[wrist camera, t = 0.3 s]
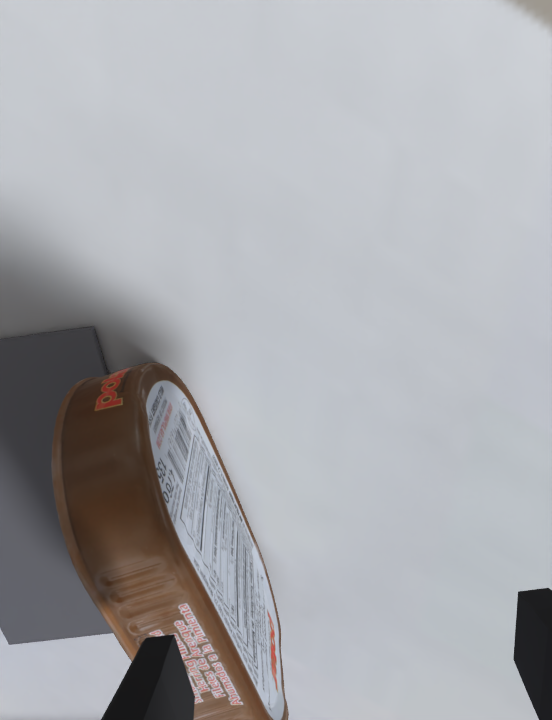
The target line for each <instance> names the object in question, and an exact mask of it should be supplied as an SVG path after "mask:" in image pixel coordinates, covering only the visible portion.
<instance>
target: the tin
mask: <svg viewBox="0 0 552 720" xmlns="http://www.w3.org/2000/svg"><path fill="white" fill-rule="evenodd" d="M51 467H52V481H53V488H54V497H55V502H56V509H57V513H58V518H59V523H60V526H61V530H62V534H63V537H64V540H65V544H66V547H67V551H68V553H69V555H70V558H71V561H72V564H73V566H74V568H75V570H76V572H77V574H78V577H79V579H80V580H81V582H82V584H83V586H84V588H85V590H86V591H87V593H88V594H89V596H90V598H91V599H92V601H93V603H94V604H95V606H96V607H97V608H98V610H99V612H100V613H101V615H102V616H103V618H104V619H105V621H106V622H107V624H108V626H109V627H110V629H111V630H112V632H113V633H114V635H115V637H116V638H117V640H118V641H119V643H120V645H121V646H122V648H123V649H124V651H125V652H126V654H127V655H128V657H129V658H130V659H131V661H133V659H134V657H135V655H136V653H137V652H138V650H139V648H140V646H141V644H142V642H143V641H144V640H145V639H146V638H148V637H156V636H164V635H172V634H174V635H175V638H176V641H177V644H178V647H179V650H180V653H181V656H182V659H183V662H184V665H185V668H186V671H187V674H188V677H189V680H190V683H191V686H192V689H193V692H194V695H195V705H194V720H288V715H289V714H288V707H287V702H286V699H285V693H284V680H283V668H282V659H281V628H280V622H279V617H278V612H277V607H276V603H275V599H274V595H273V591H272V588H271V584H270V580H269V577H268V574H267V570H266V567H265V564H264V561H263V558H262V555H261V553H260V550H259V547H258V545H257V542H256V540H255V538H254V535H253V533H252V531H251V528H250V526H249V523H248V521H247V518H246V516H245V514H244V511H243V509H242V506H241V504H240V501H239V499H238V497H237V494H236V492H235V489H234V487H233V485H232V482H231V480H230V478H229V475H228V473H227V471H226V468H225V466H224V464H223V462H222V459H221V457H220V455H219V452H218V450H217V448H216V446H215V443H214V441H213V439H212V436H211V434H210V432H209V430H208V427H207V425H206V423H205V421H204V418H203V416H202V414H201V412H200V410H199V408H198V406H197V404H196V402H195V401H194V399H193V397H192V395H191V393H190V392H189V390H188V389H187V387H186V386H185V384H184V383H183V382H182V380H181V379H180V378H179V377H178V376H177V375H176V373H174V372H173V371H172V370H171V369H170V368H168V367H167V366H165V365H163V364H160V363H145V364H141V365H137V366H133V367H130V368H126V369H123V370H120V371H117V372H114V373H112V374H109V375H106V376H103V377H89V378H86V379H83V380H81V381H79V382H78V383H76V384H75V385H74V386H73V387H72V388H71V389H70V390H69V391H68V393H67V394H66V396H65V398H64V400H63V401H62V404H61V406H60V408H59V411H58V414H57V418H56V423H55V427H54V436H53V443H52V462H51Z"/></svg>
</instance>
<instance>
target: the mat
mask: <svg viewBox="0 0 552 720" xmlns="http://www.w3.org/2000/svg"><path fill="white" fill-rule="evenodd" d="M106 375H108V373H107V369H106V366H105V363H104V359H103V356H102V353H101V349H100V346H99V343H98V339H97V336H96V333H95V329H94V326H93V327H85V328H78V329H71V330H63V331H56V332H49V333H42V334H34V335H27V336H20V337H12V338H5V339H0V628H1V630H2V632H3V634H4V636H5V638H6V640H7V641H8V643H9V645H12V644H20V643H29V642H38V641H47V640H56V639H64V638H73V637H82V636H91V635H100V634H108V633H113V632H112V630H111V629H110V627H109V626H108V624H107V622H106V621H105V619H104V618H103V616H102V615H101V613H100V612H99V610H98V608H97V607H96V606H95V604H94V603H93V601H92V599H91V598H90V596H89V594H88V593H87V591H86V590H85V588H84V586H83V584H82V582H81V580H80V579H79V577H78V574H77V572H76V570H75V568H74V566H73V564H72V561H71V558H70V555H69V553H68V551H67V547H66V544H65V540H64V537H63V534H62V530H61V526H60V523H59V518H58V513H57V509H56V502H55V497H54V488H53V481H52V467H51V462H52V443H53V436H54V427H55V423H56V418H57V414H58V411H59V408H60V406H61V404H62V401H63V400H64V398H65V396H66V394H67V393H68V391H69V390H70V389H71V388H72V387H73V386H74V385H75V384H76V383H78V382H79V381H81V380H83V379H86V378H89V377H103V376H106Z"/></svg>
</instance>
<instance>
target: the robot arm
mask: <svg viewBox="0 0 552 720" xmlns="http://www.w3.org/2000/svg"><path fill="white" fill-rule="evenodd" d="M514 661H515V664H516V666H517V669H518V671H519V673H520V676H521V678H522V681H523V683H524V686H525V688H526V690H527V693H528V695H529V697H530V700H531V702H532V704H533V707H534V709H535V711H536V714H537V716H538V718H539V720H552V590H550V589H549V588H545V589H536V590H528V591H520V592H518V603H517V618H516V632H515V647H514ZM194 705H195V695H194V692H193V689H192V686H191V683H190V680H189V677H188V674H187V671H186V668H185V665H184V662H183V659H182V656H181V653H180V650H179V647H178V644H177V641H176V638H175V635H174V634H172V635H164V636H156V637H148V638H146V639H145V640H144V641H143V642H142V644H141V646H140V648H139V650H138V652H137V653H136V655H135V657H134V659H133V661H132V663H131V665H130V667H129V669H128V671H127V673H126V675H125V677H124V678H123V680H122V682H121V684H120V686H119V688H118V690H117V692H116V693H115V695H114V697H113V699H112V701H111V703H110V704H109V706H108V708H107V710H106V712H105V714H104V715H103V717H102V719H101V720H194Z"/></svg>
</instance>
